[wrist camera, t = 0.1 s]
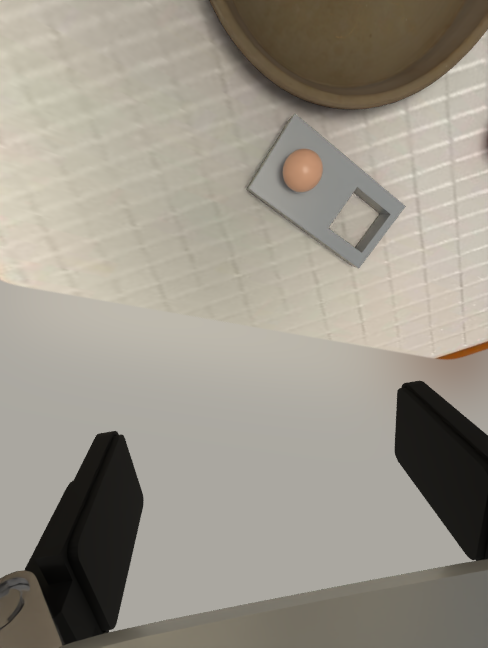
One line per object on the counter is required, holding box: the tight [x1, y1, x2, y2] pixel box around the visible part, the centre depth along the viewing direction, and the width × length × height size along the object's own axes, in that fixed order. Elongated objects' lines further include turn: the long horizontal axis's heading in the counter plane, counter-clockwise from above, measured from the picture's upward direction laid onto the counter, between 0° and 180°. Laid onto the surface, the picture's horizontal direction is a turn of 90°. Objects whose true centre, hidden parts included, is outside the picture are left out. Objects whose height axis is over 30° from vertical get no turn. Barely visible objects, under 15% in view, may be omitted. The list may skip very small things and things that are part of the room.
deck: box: [247, 114, 406, 268], centre depth 37 cm, size 8×16×2 cm, turn 57°
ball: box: [283, 149, 323, 192], centre depth 33 cm, size 4×4×4 cm
